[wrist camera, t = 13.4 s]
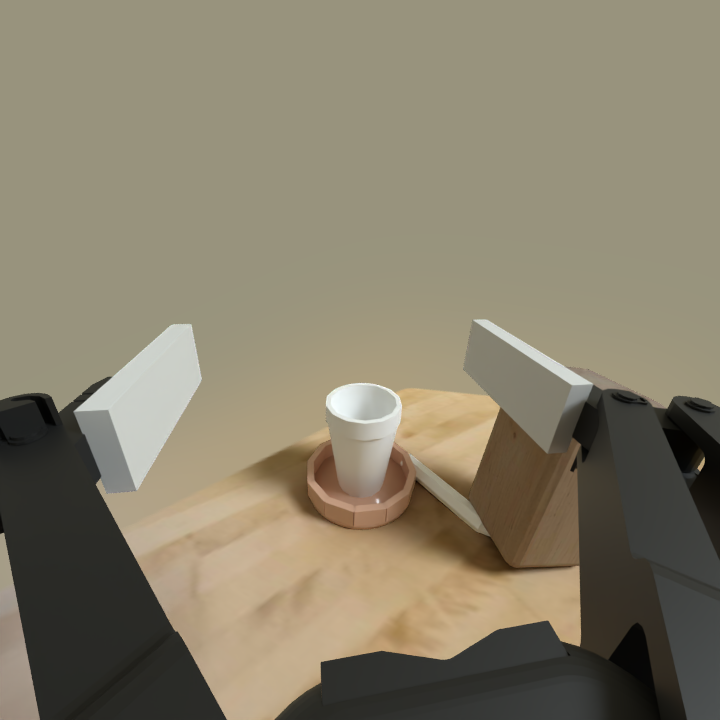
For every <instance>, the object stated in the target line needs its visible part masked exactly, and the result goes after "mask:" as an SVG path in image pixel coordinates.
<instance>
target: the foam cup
mask: <svg viewBox="0 0 720 720" xmlns="http://www.w3.org/2000/svg"><path fill="white" fill-rule="evenodd" d="M401 410H402V405H401V401H400V397H399V396H398V395H396V394H395V393H394V392H393V391H392V390H390V389H388V388H385V387H382V386H380V385H376V384H368V383H355V384H347V385H344V386H342V387H339V388H336V389H334V390H333V391H332V392H331V393H330V394H329V395H328V396H327V400H326V422H327V423H328V426H329V432H330V437H331V443H332V449H333V455H334V460H335V466H336V472H337V478H338V481H339V485H340V487H341V489H342V490H343V491H344V492H345V493H347V494H349V495H350V496H354V497H359V498H364V497H369V496H372V495H374V494H375V493H377V492H378V491H380V489H381V487H382V485H383V481H384V478H385V474H386V470H387V467H388V463H389V459H390V455H391V451H392V447H393V443H394V439H395V435H396V431H397V427H398V425H399V424H400V420H401Z"/></svg>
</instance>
